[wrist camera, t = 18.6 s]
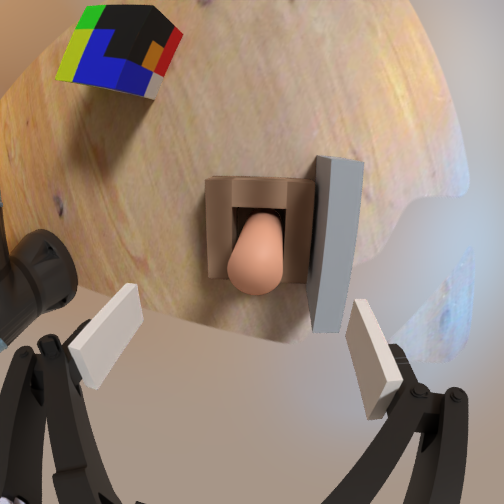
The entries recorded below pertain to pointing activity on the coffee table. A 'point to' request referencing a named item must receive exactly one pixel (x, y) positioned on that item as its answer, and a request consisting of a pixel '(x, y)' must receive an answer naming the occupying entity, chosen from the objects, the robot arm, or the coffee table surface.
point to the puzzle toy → (120, 49)
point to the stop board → (333, 239)
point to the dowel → (258, 253)
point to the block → (259, 196)
